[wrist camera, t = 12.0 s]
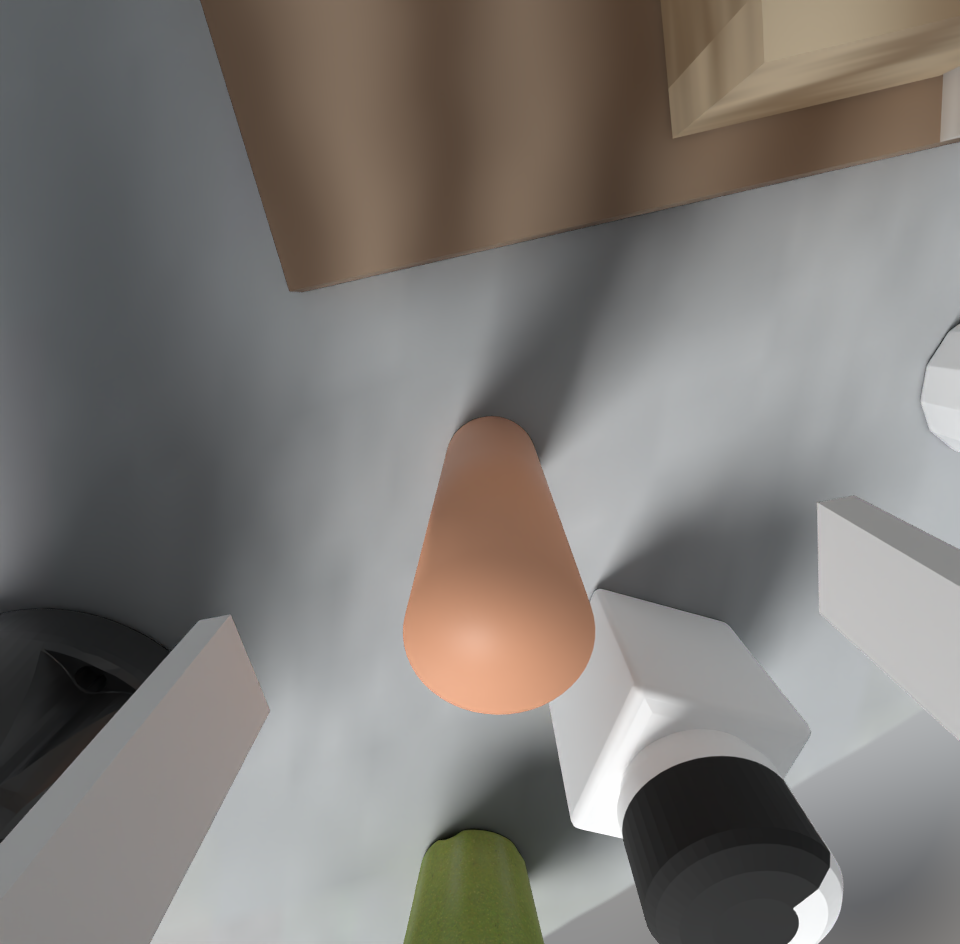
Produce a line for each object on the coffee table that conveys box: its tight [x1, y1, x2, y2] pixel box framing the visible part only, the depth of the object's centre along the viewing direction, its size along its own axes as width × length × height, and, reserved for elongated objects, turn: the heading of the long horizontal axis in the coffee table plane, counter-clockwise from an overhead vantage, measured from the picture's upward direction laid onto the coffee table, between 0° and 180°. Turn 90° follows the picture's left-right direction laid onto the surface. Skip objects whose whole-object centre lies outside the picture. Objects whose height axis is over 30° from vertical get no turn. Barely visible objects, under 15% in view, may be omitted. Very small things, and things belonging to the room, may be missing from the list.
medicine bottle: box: [549, 589, 843, 944], centre depth 21 cm, size 7×7×12 cm
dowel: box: [403, 416, 595, 715], centre depth 17 cm, size 4×4×13 cm
